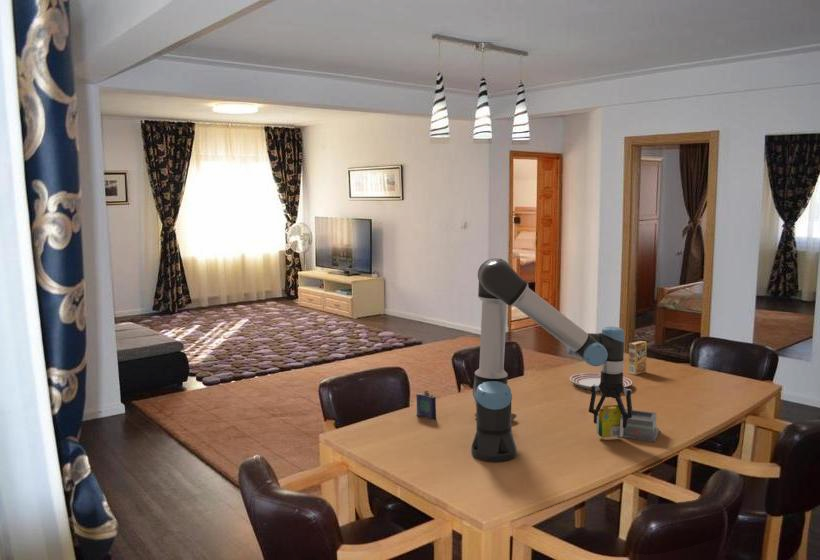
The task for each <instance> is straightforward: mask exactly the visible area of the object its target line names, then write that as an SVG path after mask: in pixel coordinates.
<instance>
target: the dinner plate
mask: <svg viewBox="0 0 820 560" xmlns="http://www.w3.org/2000/svg"><path fill="white" fill-rule="evenodd" d="M569 380H570V381H571V382H572V383H573V384H574V385H577V386H579V387H581V388H583V389H586V390H590V391H592V390H591V387H592V385H599V384H600V381H601V372H583V373H581V372H580V373H576V374H572V375H571V376H570V377H569ZM632 381H633V380H631V379H630V378H627V377H625V376H623V386H624V388H626V389H627V388H628V387H630V386H631V385H632V384H633V382H632ZM597 392H602V391H601V390H600V388H598V391H597Z"/></svg>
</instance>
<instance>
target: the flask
mask: <svg viewBox="0 0 820 560" xmlns="http://www.w3.org/2000/svg"><path fill="white" fill-rule="evenodd" d="M415 395H416V396H415V397H416V416H417V417H422V418H424V417H426V419H430V420H434V419H435V420H436V419H437V407H436V406H437V403H436V401H437V400H436V399H437V398H436V396H435V395H433V394H430V392H429V390H424V391H423V392H421V393H420V392H417V393H416V394H415Z"/></svg>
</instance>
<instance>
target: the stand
mask: <svg viewBox="0 0 820 560" xmlns="http://www.w3.org/2000/svg"><path fill="white" fill-rule="evenodd" d="M625 410H626V413H627V414H628V410H627V408H625ZM632 412H633V416H632V418H628V419H627V426H626V428H624V429H623V437H622V438H625V439H633V440H637V441H638V440H640V441H646V442H653V443H656V440H657V438H658V435H659V432H660V428H659V427H657V417H658V416H657V412H653V411H646V410H645V411H644V410H636V409H632ZM621 417H622V415H621ZM617 438H620V437H619V436H618V437H617Z"/></svg>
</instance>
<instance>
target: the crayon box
mask: <svg viewBox="0 0 820 560" xmlns="http://www.w3.org/2000/svg"><path fill="white" fill-rule="evenodd" d="M598 414H599V434H598V436H599V437H601V438H602V439H604V438H615V437H617V438H621V437H620V419H621V416H622V414H621V412H620V409H619V406H618V404H613V405H612V404H610V405H603V406H602V408H600V409H599V412H598ZM618 436H619V437H618Z"/></svg>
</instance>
